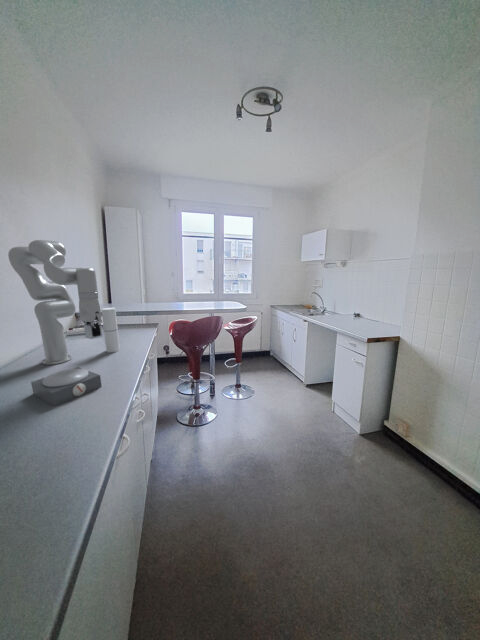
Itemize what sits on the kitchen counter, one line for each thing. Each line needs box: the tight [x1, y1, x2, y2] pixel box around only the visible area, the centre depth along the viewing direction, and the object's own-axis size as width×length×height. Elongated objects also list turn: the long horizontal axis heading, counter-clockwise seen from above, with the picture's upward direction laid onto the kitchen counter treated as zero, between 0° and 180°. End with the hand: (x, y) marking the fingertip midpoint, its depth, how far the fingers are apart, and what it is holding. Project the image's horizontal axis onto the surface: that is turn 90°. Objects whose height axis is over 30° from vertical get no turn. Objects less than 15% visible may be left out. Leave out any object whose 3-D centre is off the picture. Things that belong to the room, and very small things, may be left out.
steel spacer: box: [83, 322, 103, 340], centre depth 116 cm, size 5×5×6 cm
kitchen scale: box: [30, 366, 102, 407], centre depth 99 cm, size 18×17×6 cm
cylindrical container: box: [100, 307, 121, 353], centre depth 146 cm, size 7×7×25 cm
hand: (93, 334), depth 116 cm, fingers closed on steel spacer, 5 cm apart
